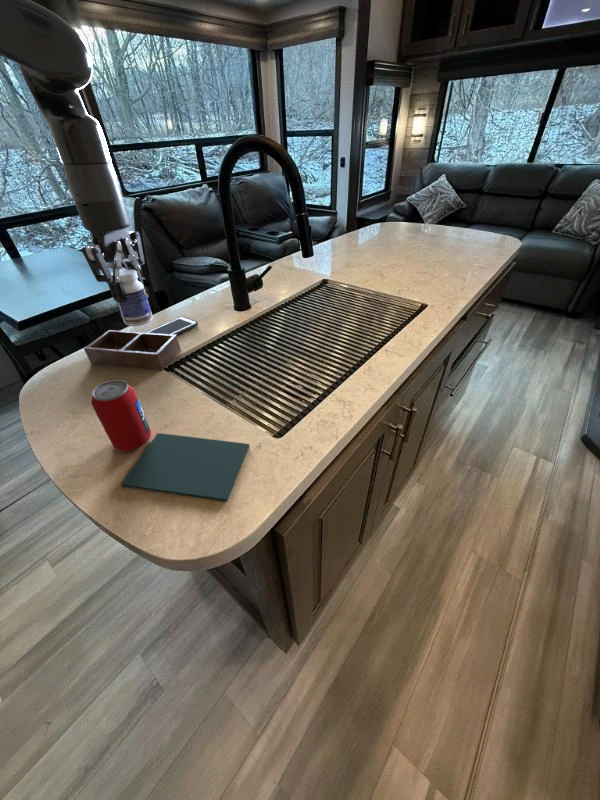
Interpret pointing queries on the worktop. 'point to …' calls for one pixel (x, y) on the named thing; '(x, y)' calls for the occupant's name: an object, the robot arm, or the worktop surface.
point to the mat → (188, 467)
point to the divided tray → (133, 349)
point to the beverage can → (121, 415)
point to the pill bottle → (134, 300)
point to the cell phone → (174, 326)
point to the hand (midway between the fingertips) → (130, 295)
